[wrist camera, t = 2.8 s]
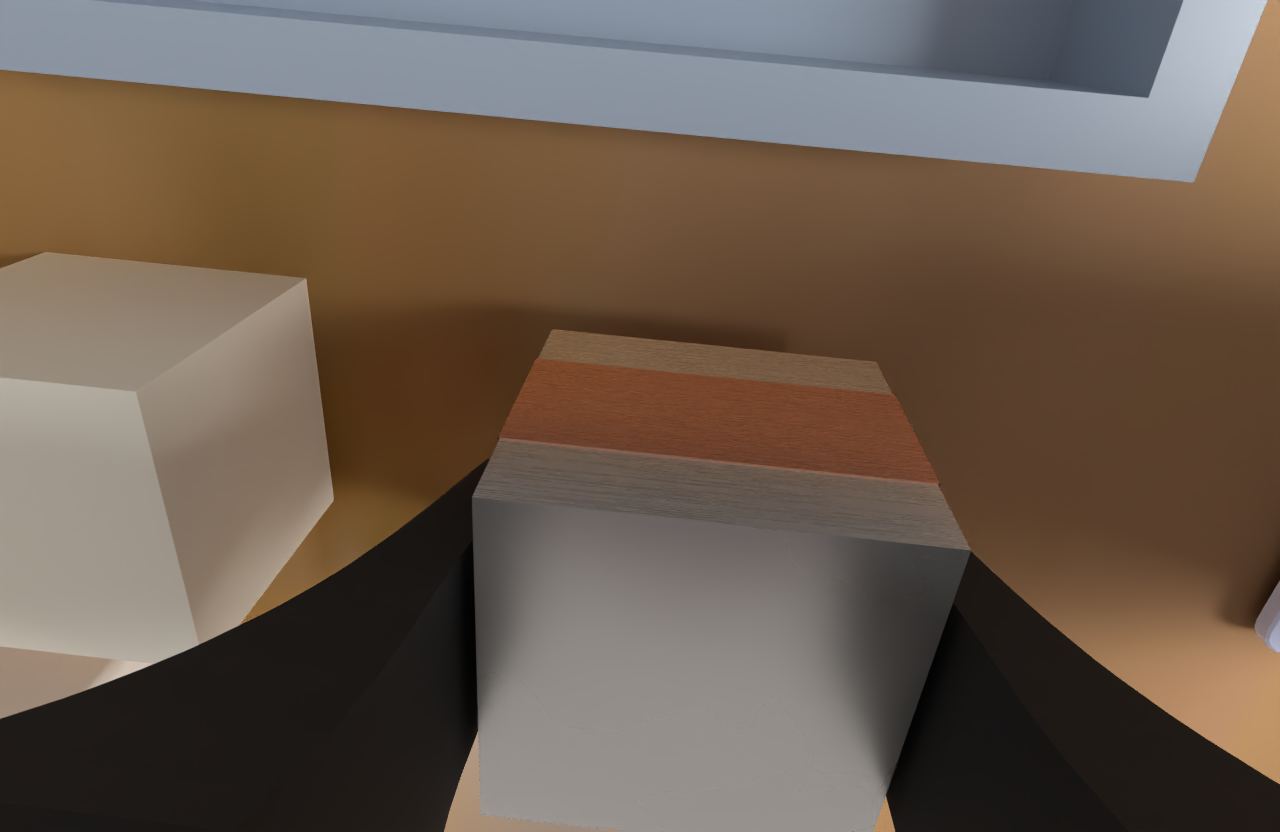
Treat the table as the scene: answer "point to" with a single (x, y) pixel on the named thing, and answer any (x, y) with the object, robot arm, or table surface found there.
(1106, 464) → the table surface
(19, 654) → the jar
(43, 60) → the tote
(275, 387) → the white cube
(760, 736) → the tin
